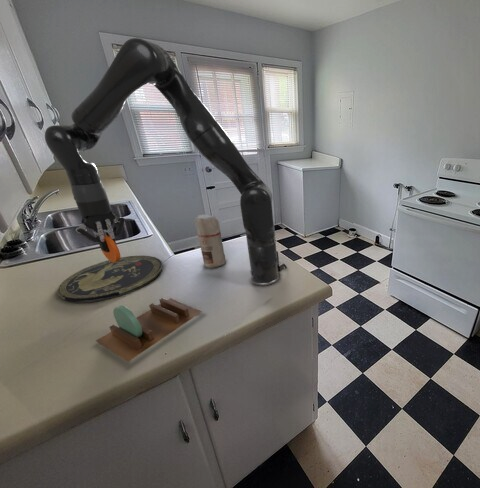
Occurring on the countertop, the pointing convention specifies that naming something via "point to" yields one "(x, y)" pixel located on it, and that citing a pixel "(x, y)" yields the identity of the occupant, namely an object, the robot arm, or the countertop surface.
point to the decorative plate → (110, 279)
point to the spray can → (210, 240)
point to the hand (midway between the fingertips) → (110, 250)
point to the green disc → (127, 321)
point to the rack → (149, 328)
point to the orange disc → (111, 250)
